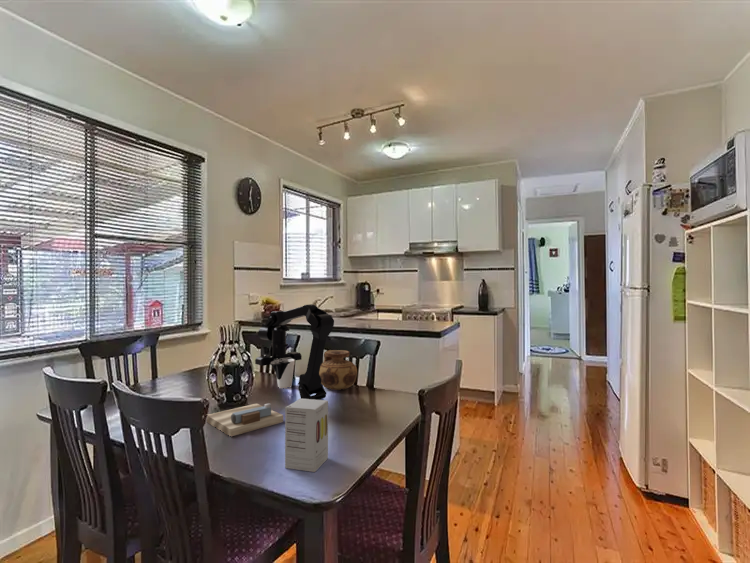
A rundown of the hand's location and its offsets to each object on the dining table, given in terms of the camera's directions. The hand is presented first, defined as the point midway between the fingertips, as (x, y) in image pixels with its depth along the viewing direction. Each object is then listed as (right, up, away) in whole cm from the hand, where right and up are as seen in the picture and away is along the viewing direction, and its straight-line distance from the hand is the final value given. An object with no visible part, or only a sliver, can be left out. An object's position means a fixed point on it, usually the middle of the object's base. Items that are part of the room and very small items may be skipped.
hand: (279, 379), depth 165 cm
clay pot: (+22, -11, +28) cm, 37 cm away
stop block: (-3, -8, -27) cm, 28 cm away
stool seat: (-8, -11, -19) cm, 23 cm away
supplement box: (+21, -11, -53) cm, 58 cm away
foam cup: (-5, -11, +30) cm, 33 cm away
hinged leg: (-4, -8, -23) cm, 25 cm away
